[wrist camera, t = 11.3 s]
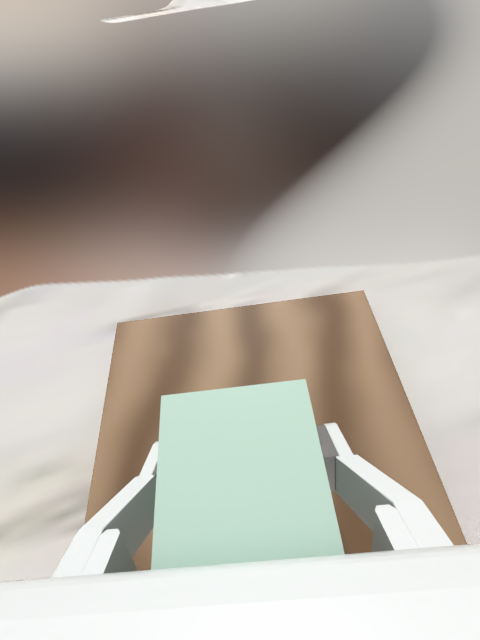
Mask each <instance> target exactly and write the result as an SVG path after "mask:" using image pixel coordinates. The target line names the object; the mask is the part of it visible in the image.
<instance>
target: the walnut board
mask: <svg viewBox="0 0 480 640" xmlns="http://www.w3.org/2000/svg"><path fill="white" fill-rule="evenodd" d="M301 379H306V383H307V387H308V392H309V396H310V401H311V405H312V410H313V414H314V419H315V423H316V425H318V424H327V423H336V424H337V425H338V427H339V429H340V431H341V433H342V434H343V436H344V438H345V440H346V442H347V444H348V445H349V447H350V449H351V451H352V453H353V455H359V456H360V457H361V458H363V459H364V460H366V461H367V462H369V463H370V464H371V465H373V466H374V467H376V468H377V469H378V470H380V471H381V472H383V473H384V474H385V475H387V476H388V477H390V478H391V479H393V480H394V481H395V482H397V483H398V484H400V485H401V486H402V487H404V488H405V489H407V490H408V491H410V492H411V493H412V494H414V495H415V496H417V497H418V498H419V499H421V500H422V501H423V502H424V504H425V505H426V507H427V508H428V509H429V511H430V512H431V514H432V515H433V516H434V518H435V519H436V521H437V522H438V523H439V525H440V526H441V528H442V529H443V531H444V532H445V533H446V535H447V536H448V538H449V539H450V540H451V542H452V543H453V545H466V544H467V543H466V540H465V538H464V535H463V533H462V530H461V528H460V525H459V523H458V521H457V518H456V516H455V513H454V511H453V508H452V506H451V503H450V501H449V499H448V496H447V494H446V491H445V489H444V486H443V484H442V481H441V479H440V477H439V474H438V472H437V469H436V467H435V464H434V462H433V459H432V457H431V454H430V452H429V450H428V447H427V445H426V442H425V440H424V437H423V435H422V432H421V430H420V428H419V425H418V423H417V420H416V418H415V415H414V413H413V410H412V408H411V406H410V403H409V401H408V398H407V396H406V393H405V391H404V388H403V386H402V383H401V381H400V379H399V376H398V374H397V371H396V369H395V366H394V364H393V361H392V359H391V357H390V354H389V352H388V349H387V347H386V344H385V342H384V339H383V337H382V335H381V332H380V330H379V327H378V325H377V322H376V320H375V317H374V315H373V312H372V310H371V308H370V305H369V303H368V300H367V298H366V295H365V293H364V290H363V291H355V292H348V293H340V294H333V295H325V296H318V297H310V298H303V299H295V300H287V301H280V302H272V303H265V304H257V305H250V306H242V307H235V308H227V309H219V310H212V311H204V312H197V313H189V314H182V315H174V316H167V317H159V318H151V319H144V320H136V321H129V322H121V323H117V329H116V335H115V341H114V347H113V353H112V359H111V365H110V372H109V378H108V384H107V390H106V396H105V402H104V408H103V414H102V420H101V426H100V433H99V439H98V445H97V451H96V457H95V463H94V469H93V475H92V481H91V487H90V493H89V500H88V506H87V512H86V518H85V524H86V523H87V522H88V521H89V520H90V519H91V518H92V517H93V516H94V515H95V514H96V513H98V512H99V511H100V510H101V509H102V508H103V507H104V506H105V505H106V504H107V503H108V502H109V501H110V500H111V499H112V498H113V497H114V496H116V495H117V494H118V493H119V492H120V491H121V490H122V489H123V488H124V487H125V486H126V485H127V484H128V483H129V482H130V481H131V480H133V479H134V478H135V477H137V476H139V475H140V473H141V470H142V468H143V466H144V464H145V461H146V459H147V457H148V455H149V452H150V450H151V448H152V445H153V444H154V443H155V442H157V441H159V425H160V409H161V396H163V395H171V394H180V393H188V392H197V391H206V390H214V389H223V388H232V387H240V386H249V385H258V384H266V383H275V382H283V381H292V380H301ZM331 495H332V499H333V504H334V508H335V513H336V517H337V522H338V526H339V531H340V535H341V540H342V544H343V549H344V553H345V554H354V553H366V552H371V551H372V539H373V532H372V530H371V529H370V528H369V527H368V526H367V525H366V524H365V523H364V522H363V521H362V520H361V519H360V518H359V517H358V516H357V514H356V513H355V512H354V511H353V510H352V509H351V508H350V507H349V506H348V505H347V504H346V503H345V502H344V501H343V500H342V498H341V497H340V496H339V495H338V494H337V493H336V491H331ZM85 524H84V525H85ZM152 544H153V529H152V530H151V532H150V533H149V535H148V536H147V537H146V539H145V540H144V542H143V543H142V544H141V546H140V547H139V549H138V550H137V552H136V553H135V554H134V556H133V557H132V559H133V561H134V563H135V565H136V567H137V569H138V571H143V570H151V561H152Z"/></svg>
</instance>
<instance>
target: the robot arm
mask: <svg viewBox="0 0 480 640" xmlns="http://www.w3.org/2000/svg"><path fill="white" fill-rule="evenodd" d="M316 428H317V432H318V437H319V441H320V446H321V450H322V455H323V459H324V463H325V468H326V472H327V477H328V481H329V486H330V490H331V491H336V493H337V494H338V495H339V496H340V497H341V498H342V500H343V501H344V502H345V503H346V504H347V505H348V506H349V507H350V508H351V509H352V510H353V511H354V512H355V513H356V514H357V516H358V517H359V518H360V519H361V520H362V521H363V522H364V523H365V524H366V525H367V526H368V527H369V528H370V529H371V530H372V532H373V539H372V551H371V552H366V553H354V554H341V555H329V556H316V557H304V558H291V559H279V560H266V561H254V562H241V563H229V564H217V565H205V566H193V567H180V568H168V569H155V570H143V571H138V569H137V567H136V565H135V563H134V561H133V559H132V557H133V556H134V554H135V553H136V552H137V550H138V549H139V547H140V546H141V544H142V543H143V542H144V540H145V539H146V537H147V536H148V535H149V533H150V532H151V530H152V529H153V527H154V510H155V493H156V476H157V459H158V442H159V441H157V442H155V443H154V444H153V445H152V448H151V450H150V452H149V455H148V457H147V459H146V461H145V464H144V466H143V468H142V470H141V473H140V475H139V476H137V477H135V478H134V479H133V480H131V481H130V482H129V483H128V484H127V485H126V486H125V487H124V488H123V489H122V490H121V491H120V492H119V493H118V494H117V495H116V496H114V497H113V498H112V499H111V500H110V501H109V502H108V503H107V504H106V505H105V506H104V507H103V508H102V509H101V510H100V511H99V512H98V513H96V514H95V515H94V516H93V517H92V518H91V519H90V520H89V521H88V522H87V523H86V524H85V525H84V526H83V527H82V528H81V529H80V530H78V532H77V534H76V536H75V537H74V539H73V541H72V543H71V544H70V546H69V548H68V550H67V551H66V553H65V555H64V557H63V558H62V560H61V562H60V564H59V565H58V567H57V569H56V571H55V572H54V574H53V576H52V578H42V579H30V580H17V581H4V582H0V640H480V543H478V544H466V545H453V543H452V542H451V540H450V539H449V538H448V536H447V535H446V533H445V532H444V531H443V529H442V528H441V526H440V525H439V523H438V522H437V521H436V519H435V518H434V516H433V515H432V514H431V512H430V511H429V509H428V508H427V507H426V505H425V504H424V502H423V501H422V500H421V499H419V498H418V497H417V496H415V495H414V494H412V493H411V492H410V491H408V490H407V489H405V488H404V487H402V486H401V485H400V484H398V483H397V482H395V481H394V480H393V479H391V478H390V477H388V476H387V475H385V474H384V473H383V472H381V471H380V470H378V469H377V468H376V467H374V466H373V465H371V464H370V463H369V462H367V461H366V460H364V459H363V458H361V457H360V456H359V455H353V453H352V451H351V449H350V447H349V445H348V444H347V442H346V440H345V438H344V436H343V434H342V433H341V431H340V429H339V427H338V425H337V424H336V423H327V424H318V425H316Z"/></svg>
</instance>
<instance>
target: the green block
mask: <svg viewBox="0 0 480 640" xmlns="http://www.w3.org/2000/svg"><path fill="white" fill-rule="evenodd" d="M341 554H345V553H344V549H343V544H342V540H341V535H340V531H339V526H338V522H337V517H336V513H335V508H334V504H333V499H332V495H331V490H330V486H329V481H328V477H327V472H326V468H325V463H324V459H323V455H322V450H321V446H320V441H319V437H318V432H317V428H316V423H315V419H314V414H313V410H312V405H311V401H310V396H309V392H308V387H307V383H306V379H301V380H292V381H283V382H275V383H266V384H258V385H249V386H240V387H232V388H223V389H214V390H206V391H197V392H188V393H180V394H171V395H163V396H161V409H160V425H159V442H158V459H157V476H156V493H155V510H154V527H153V544H152V561H151V570H155V569H168V568H180V567H193V566H205V565H217V564H229V563H241V562H254V561H266V560H279V559H291V558H304V557H316V556H329V555H341Z"/></svg>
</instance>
